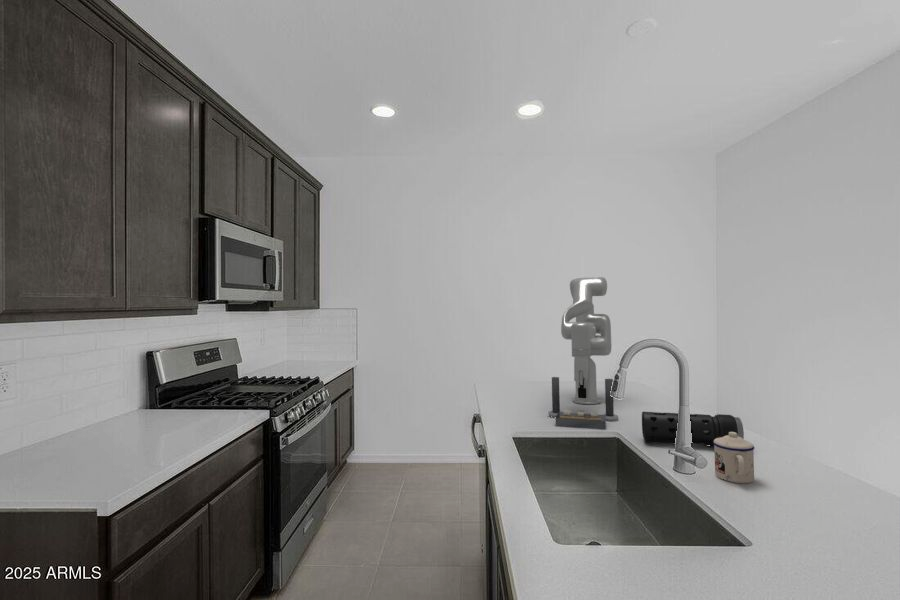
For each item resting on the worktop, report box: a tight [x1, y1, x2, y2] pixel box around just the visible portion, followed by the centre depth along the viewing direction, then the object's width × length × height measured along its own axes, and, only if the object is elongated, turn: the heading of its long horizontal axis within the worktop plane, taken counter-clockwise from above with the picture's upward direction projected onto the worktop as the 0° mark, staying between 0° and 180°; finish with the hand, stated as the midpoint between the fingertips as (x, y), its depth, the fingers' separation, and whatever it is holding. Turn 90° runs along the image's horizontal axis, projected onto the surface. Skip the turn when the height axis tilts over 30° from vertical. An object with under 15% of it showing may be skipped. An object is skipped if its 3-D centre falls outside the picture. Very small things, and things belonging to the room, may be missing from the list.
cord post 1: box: [547, 376, 564, 418], centre depth 186 cm, size 6×6×16 cm
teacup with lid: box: [713, 432, 755, 484], centre depth 115 cm, size 12×9×12 cm
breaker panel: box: [554, 409, 607, 430], centre depth 172 cm, size 10×18×5 cm, turn 70°
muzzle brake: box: [641, 411, 745, 446], centre depth 145 cm, size 10×28×10 cm, turn 72°
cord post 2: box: [601, 378, 619, 422], centre depth 179 cm, size 6×6×16 cm
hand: (582, 397), depth 184 cm, fingers closed
